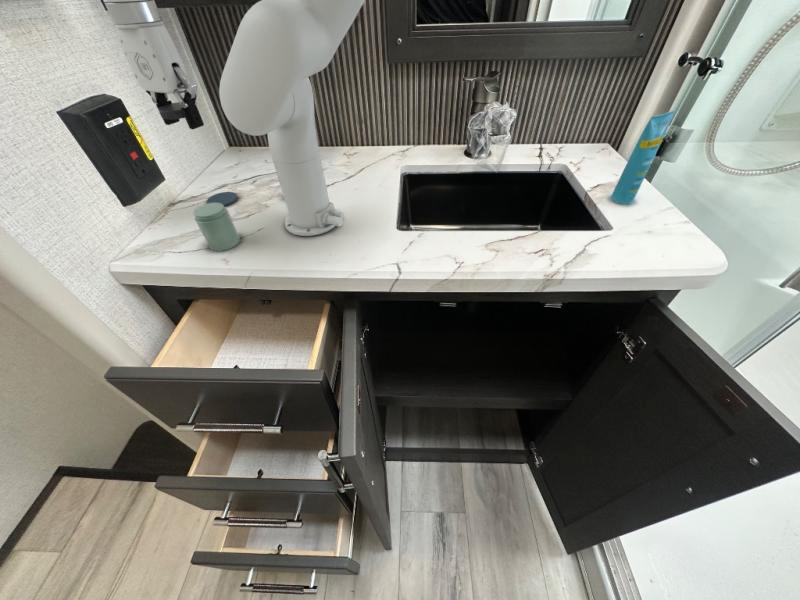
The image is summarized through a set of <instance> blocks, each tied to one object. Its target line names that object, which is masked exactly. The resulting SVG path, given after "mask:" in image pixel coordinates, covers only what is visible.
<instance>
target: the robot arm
mask: <svg viewBox="0 0 800 600" xmlns="http://www.w3.org/2000/svg"><path fill="white" fill-rule="evenodd" d="M102 1H103V3H104V5H105V7H106V9H107V11H108V14H109V15H110V17H111V19H112V22H113V23H114V25H115V30H116V33H117V37H118V39H119V42H120V45H121V47H122V50H123V53H124V55H125V57H126V60H127V61H128V64H129V67H130V68H131V71H132V73H133V74H134V75H133V76H134V77H135V79H136V81H137V83H138V85H139V87H140V88H141V89H143V90H145V92H146V93H147V95H148V96H149V97H150V99H151V101H152V103H153V104H155V107H156V108H157V110H158V109H159V108H160V107H161V106H164V105H167V104H171V103H173V102H172V100H169V98H168V97H169V96H168V94H173V96H175V98H176V99H177V102H180V104H181V105H182V106H183V107H182V108H181V110H182V112H183V114H184V117H185V118H184V119H185V121H186V124H187V126H188V128H189V129H190V130H195V129H199V128H201V127H204V125H205V123H204V121H203V117H202V115H201V114H200V111H199V108H198V106H197V105H198V101H197V98H198V97H197V96H198V95H197V91H198V86H197V84H196V83H195V81H194V80H193V79H191V77H190V76H189V75H188V72H187V69H186V67H185V64H184V63H183V60H182V57H181V56H180V53H179V52H178V49H177V47H176V45H175V43H174V41H173V39H172V37H171V35H170V33H169V31H168V30H167V28H166V26H165V24H164V22H163V19H162V18H163V17H162V16H161V14H160V12H159V11H160V10H159V9H158V5H157V4H156V2H155V0H102ZM365 2H366V0H259V1H257V2H256V3H254V4H253V5H252V6H251V7H250V8H249V9H248V10H247V12H246V13H245V14H244V16H243V17H242V19H241V21H240V24H239V26H238V28H237V31H236V34H235V36H234V39H233V43H232V45H231V48H230V51H229V54H228V56H227V59H226V61H225V65H224V68H223V71H222V74H221V77H220V82H219V88H218V90H219V91H218V93H219V101H220V106H221V108H222V111H223V113H224V115H225V117H226V118H227V120H228V121H229V123H230V124H231V125H232V126H233V127H234V128H235V129H237V131H239V132H241V133H243V134H246V135H248V136H255V137H258V136H265V135H267V143H268V148H269V152H270V155H271V159H272V163H273V165H274V166H273V167H274V169H275V173H276V176H277V179H278V183H279V186H280V189H281V193H282V196H283V199H284V203H285V205H286V209H287V212H288V214H287V215H286V217H285V218H284V226H285V229H286V230H287V231H288V232H289V233H291V234H292V235H295V236H300V237H313V236H318V235H322V234H325V233H327V232H330V231H331V230H332V229H334V228H335V227H342V225H343V223H344V222H343V221H344V217H345V213H344V212H342V211H338V210H337V209H336V208H335V203H334V202H330V197H329V193H328V187H327V182H326V177H325V172H324V168H323V162H322V157H321V151H320V146H319V142H318V141H319V140H318V135H317V128H316V119H315V99H314V90H313V86H312V83H311V80H310V78H309V77H312V76H313V75H316V74H317V73H319V72H321V71H323V70H324V69H326V68H327V67H328V66H329V64H330V63H331V61H332V59H333V57H334V56H335V54H336V52H337V50H338V49H339V46H340V45H341V44H342V42H343V40H344V38H345V36H346V35H347V33H348V32H349V30H350V28H351V26H352V25H353V23H354V21H355V19H356V18H357V16H358V13H359V11H360V10H361V8H362V7H363V5H364V3H365ZM183 93H184V95H182V94H183ZM162 121H163V123H164V124H165V125H166V126H170V125H174V124H176V123H179V122H180V119H164V118H162Z"/></svg>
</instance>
